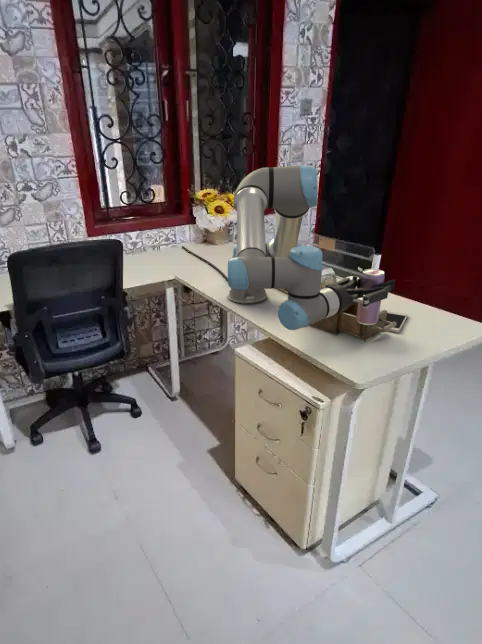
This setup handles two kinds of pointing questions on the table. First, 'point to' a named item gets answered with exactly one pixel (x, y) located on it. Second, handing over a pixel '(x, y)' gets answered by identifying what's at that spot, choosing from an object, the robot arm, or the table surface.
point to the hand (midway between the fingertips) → (382, 281)
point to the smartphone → (396, 320)
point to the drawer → (355, 328)
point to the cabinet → (329, 323)
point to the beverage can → (371, 312)
